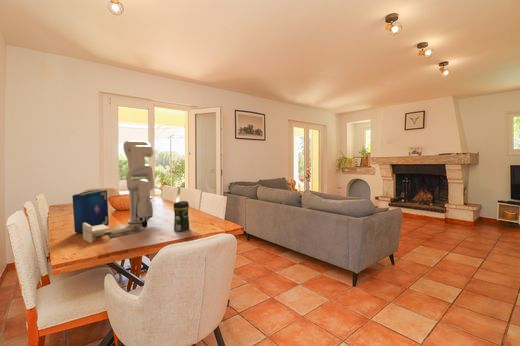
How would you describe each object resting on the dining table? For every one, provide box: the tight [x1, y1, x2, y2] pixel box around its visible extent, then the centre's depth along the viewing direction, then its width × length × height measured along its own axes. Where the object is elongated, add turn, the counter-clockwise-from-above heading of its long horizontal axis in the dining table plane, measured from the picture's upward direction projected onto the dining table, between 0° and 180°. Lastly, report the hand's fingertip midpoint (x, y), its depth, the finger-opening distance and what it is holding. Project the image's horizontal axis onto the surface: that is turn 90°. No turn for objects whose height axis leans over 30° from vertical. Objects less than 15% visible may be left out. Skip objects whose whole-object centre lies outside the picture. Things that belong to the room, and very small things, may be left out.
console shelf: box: [82, 223, 111, 244], centre depth 147 cm, size 10×12×9 cm
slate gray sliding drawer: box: [108, 224, 141, 236], centre depth 159 cm, size 16×7×3 cm, turn 141°
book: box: [71, 189, 110, 234], centre depth 166 cm, size 22×7×25 cm, turn 168°
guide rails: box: [103, 229, 142, 239], centre depth 158 cm, size 18×10×1 cm, turn 138°
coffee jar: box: [173, 200, 190, 232], centre depth 165 cm, size 10×8×19 cm
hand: (144, 227), depth 168 cm, fingers closed
